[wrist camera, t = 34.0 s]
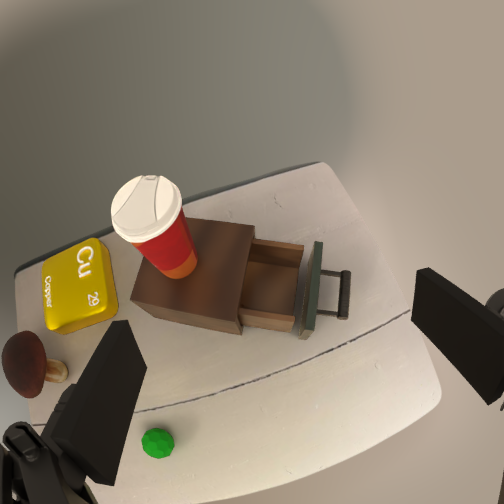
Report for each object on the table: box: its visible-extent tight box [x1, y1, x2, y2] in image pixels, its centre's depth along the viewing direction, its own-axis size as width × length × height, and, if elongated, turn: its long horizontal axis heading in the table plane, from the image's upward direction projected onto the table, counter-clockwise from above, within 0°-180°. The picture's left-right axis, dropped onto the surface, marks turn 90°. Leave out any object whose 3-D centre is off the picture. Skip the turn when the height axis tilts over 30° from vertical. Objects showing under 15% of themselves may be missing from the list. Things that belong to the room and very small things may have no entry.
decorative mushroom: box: [2, 331, 68, 398], centre depth 34 cm, size 11×11×15 cm
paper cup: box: [111, 175, 198, 279], centre depth 33 cm, size 8×8×14 cm
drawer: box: [237, 239, 351, 340], centre depth 42 cm, size 19×13×8 cm
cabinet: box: [130, 217, 256, 335], centre depth 43 cm, size 15×14×10 cm
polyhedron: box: [142, 428, 174, 459], centre depth 34 cm, size 5×5×5 cm
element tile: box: [42, 238, 118, 335], centre depth 46 cm, size 15×15×5 cm
